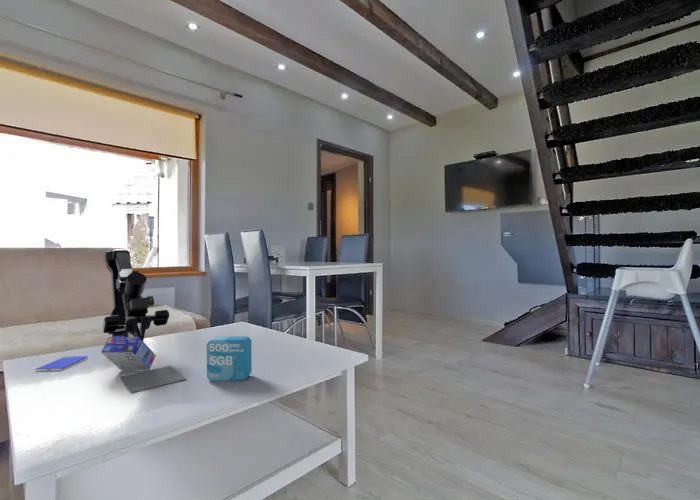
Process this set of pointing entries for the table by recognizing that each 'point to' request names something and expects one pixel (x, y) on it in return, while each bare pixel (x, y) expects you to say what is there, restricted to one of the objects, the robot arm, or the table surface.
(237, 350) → the data package
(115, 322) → the robot arm
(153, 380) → the mat
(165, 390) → the table surface
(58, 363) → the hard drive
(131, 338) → the ink cartridge box
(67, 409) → the table surface
